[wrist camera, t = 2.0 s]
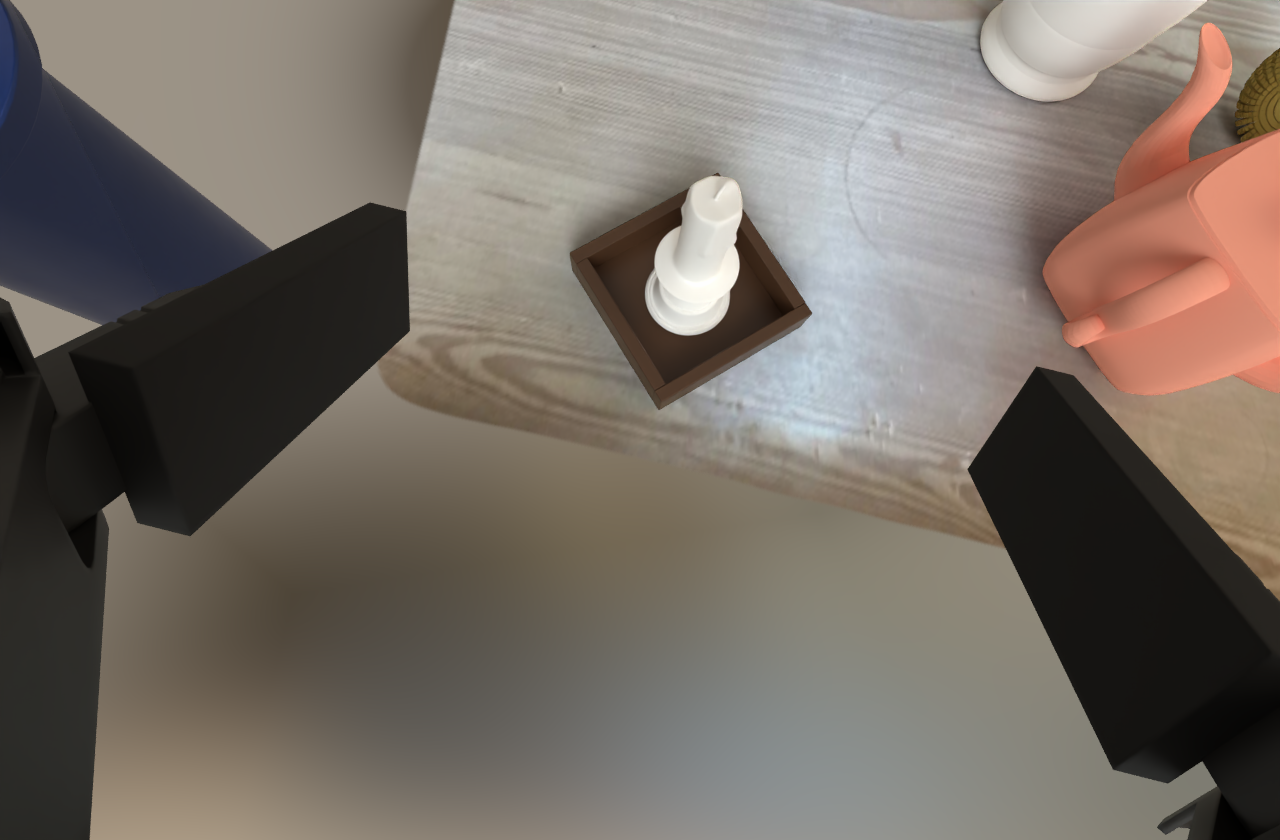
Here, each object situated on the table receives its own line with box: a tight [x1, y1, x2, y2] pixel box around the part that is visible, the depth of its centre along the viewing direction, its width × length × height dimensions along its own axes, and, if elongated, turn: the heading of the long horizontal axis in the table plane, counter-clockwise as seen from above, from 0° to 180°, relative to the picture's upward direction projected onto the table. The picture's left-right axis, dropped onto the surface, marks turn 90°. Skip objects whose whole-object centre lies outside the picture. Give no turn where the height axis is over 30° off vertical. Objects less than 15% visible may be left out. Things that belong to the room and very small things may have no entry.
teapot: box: [1043, 23, 1280, 395], centre depth 33 cm, size 15×17×13 cm
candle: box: [645, 176, 742, 335], centre depth 32 cm, size 5×5×12 cm
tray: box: [570, 173, 812, 410], centre depth 37 cm, size 11×11×2 cm
